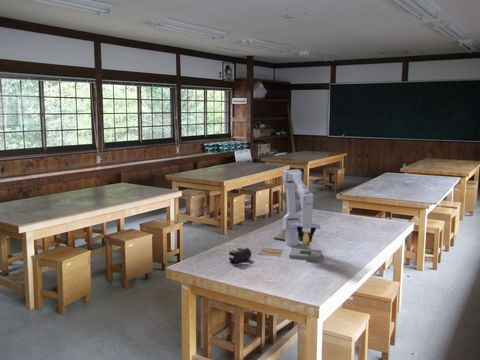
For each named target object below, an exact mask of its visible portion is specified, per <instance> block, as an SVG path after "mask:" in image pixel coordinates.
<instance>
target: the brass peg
mask: <svg viewBox="0 0 480 360" xmlns="http://www.w3.org/2000/svg"><path fill="white" fill-rule="evenodd" d="M302 231H303V232H302V241H301V246H302V247H310V246H311V242H310V231H307V230H306V231H305V230H302Z"/></svg>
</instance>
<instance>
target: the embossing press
mask: <svg viewBox="0 0 480 360" xmlns="http://www.w3.org/2000/svg"><path fill="white" fill-rule="evenodd" d="M279 195H280V198H281V199H282V200H283V201H284V203H285V205H286V206H287V197H286V192H283V191H281V192H280V194H279ZM289 219H295V218H289ZM303 231H304V230H302V232H303ZM285 237H286V230H284V229H283V230H282V232H281V233H279V234H278V235H275V236H273V240H275V241H282V242H285ZM298 237H300V236H299V233H298Z"/></svg>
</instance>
